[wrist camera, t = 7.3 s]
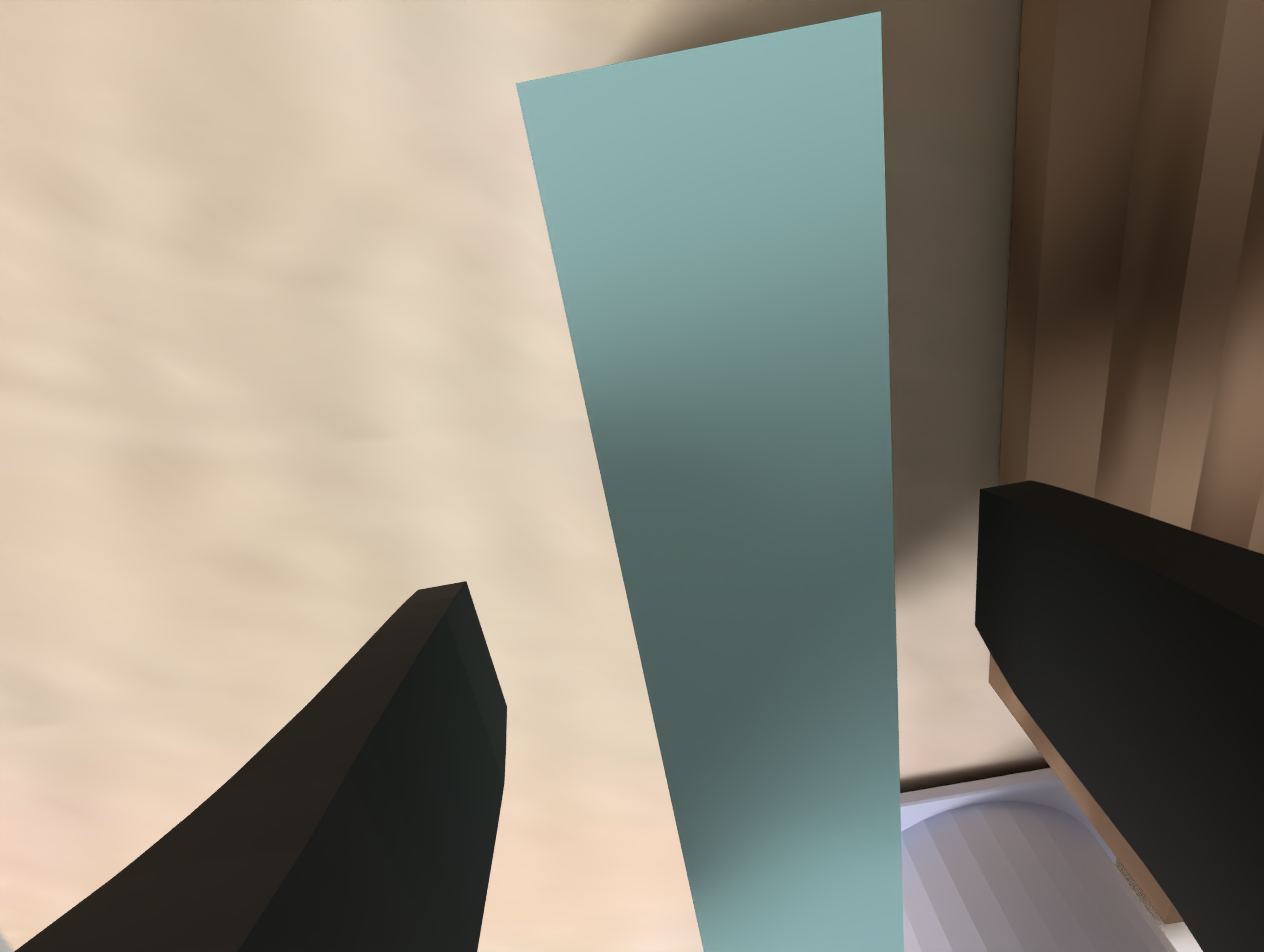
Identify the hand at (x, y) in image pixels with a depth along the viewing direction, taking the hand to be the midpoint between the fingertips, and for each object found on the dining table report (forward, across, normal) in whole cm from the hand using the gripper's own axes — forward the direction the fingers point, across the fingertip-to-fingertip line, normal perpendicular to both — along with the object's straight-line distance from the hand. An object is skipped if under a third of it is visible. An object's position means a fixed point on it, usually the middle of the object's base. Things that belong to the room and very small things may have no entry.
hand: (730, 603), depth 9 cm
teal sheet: (+6, 0, 0) cm, 6 cm away
